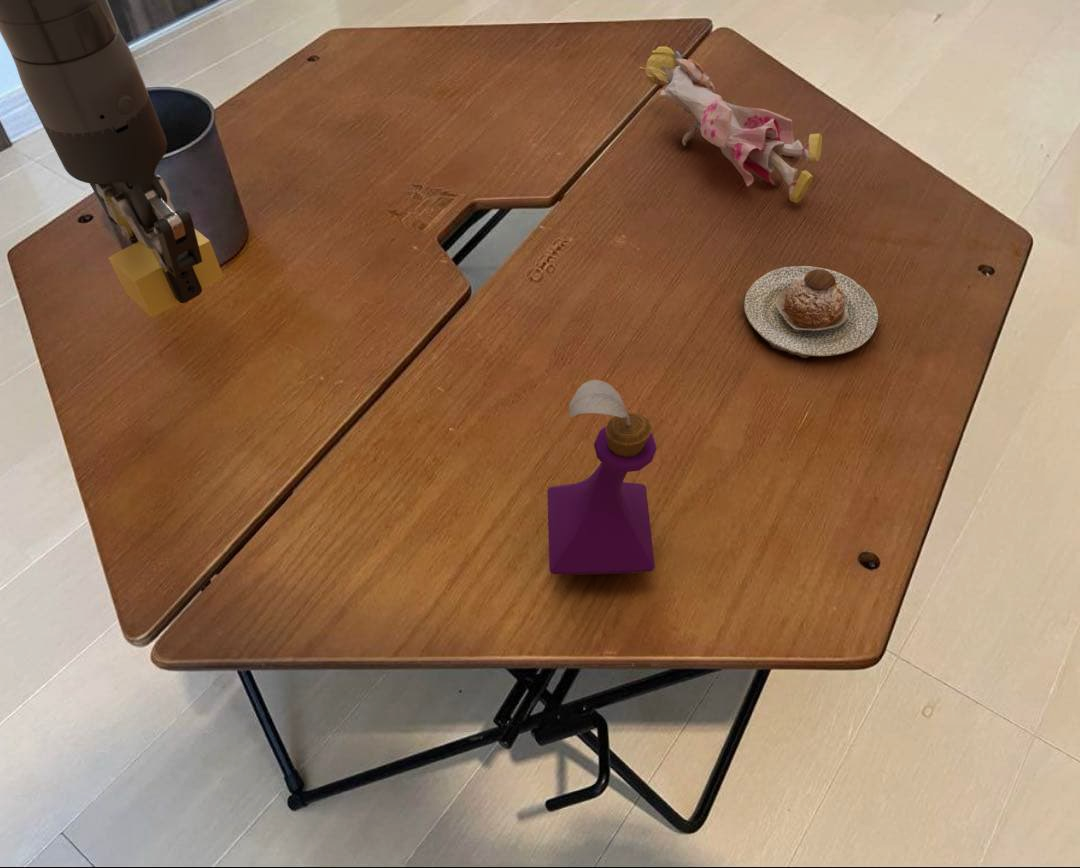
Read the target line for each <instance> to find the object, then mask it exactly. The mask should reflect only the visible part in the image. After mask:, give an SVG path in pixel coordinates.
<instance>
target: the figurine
mask: <svg viewBox="0 0 1080 868" xmlns="http://www.w3.org/2000/svg"><path fill="white" fill-rule="evenodd" d="M682 57H683V56H682V55H681V53H680V52H679V51H678V50H676V51H674V50H673V49H672V48H671V47H668V46H665V45H664V46H658V47H657V48H656V49H653V50H652V51H651V55H650V56H649V58H648V59H647V61H646V64H645V67H642V66H638V68H640V69H641V70H642V71H644V73H645V77H646V79H647V80H648V81H649V83H651V84H654V85H661V86H666V87H665V88H664V89H661V90H660V93H659V97H660V98H661V99H662V100H664V99H665V100H666V99H667V100H670V101H671V102H673V103H675V104H676V105H677V106H679V107H680V108H683V111H685V112H686V113H687V114H689V115H691V116H692V117H694V118H695V119H694V121H693V123H692V124H691V128H692V129H691V130H689V131H688V132H686V133H685V134H683V138H682V140H681V142H682V146H685V147H686V146H687V143H688V141H689V140H690V139H691V138H693V137H694V136H695V135H696V133H697V131H700V134H701V136H702V137H703V138H704V140H706V141H708V142H709V143H710V144H712V145H714V146H715V147H718V148H720V150H721V153H722V155H724V156H725V158H726V159H728V160H729V161H730V162H731V163H732V165H733V166H734V167H735V168H736V169H737V171H738V172H739V174H740V175H741V176H742V178H743V181H744V182H745V185H746V186H747V187H749V186H752V185H753V183H754V181H755V179H754V177H753V174H752V173H751V171H752V172H753V173H754V174H756V175H757V176H758V177H759V178H760V179H761V180H762V181H764V182H766V183H768V184H770V185H774V186H776V182H775V180H774V179H772V178H771V173H772V172H775V169H777V171H778V172H779V174H780V176H781V178H783V180H784V182H785V183H786V185H787V187H788V190H789V191H788V194H789V195H788V198H789V202H793V203H796V204H797V203H800V201H801V199H802V198H803V197H804V195H805V193H806V192H807V190H808V189H809V187H810V185H812V182H813V179H814V176H813V175H812V174H811V173H810V172H809V171H808V170H806V169H805V170H802V171H801V173H800V174H799V177H798V171H799V168H795V167H792V166H790V165H789V164H788V163H787V162H786V161H784V160H783V158H782V155H783V156H786V157H789V158H790V157H800V158H804V160H805V161H806V162H807V163H808V164H812V165H814V164H816V163H818V162H819V160H820V158H821V153H822V147H823V135H822V134H821V133H809V136H808V141H807V142H805V144H804V145H803V144H802V142H801V141H800V140H799V139H797V140H795V137H794V131H793V130H794V129H793V126H794V125H793V120H792V119H791V118H789V117H787V116H783V115H782V114H779V113H776V112H774V111H771V110H768V109H765V108H757V107H748V106H743V105H737V104H732V103H729V102H727V101H724V100H723V98H722V96H721V95H719V94H717V93H716V90H717V89H716V88H715V86H714V83H713V82H712V81H711V79H710V76H708V75H707V74H706V73H705V70H704V68H703V67H702V66H701V65H700V64H699V63H698V62H697V61H696V60H695V59H693V58H688V59H685V58H682ZM807 147H808V149H807ZM748 169H749V170H750V171H749V170H748ZM797 178H798V179H797Z"/></svg>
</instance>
